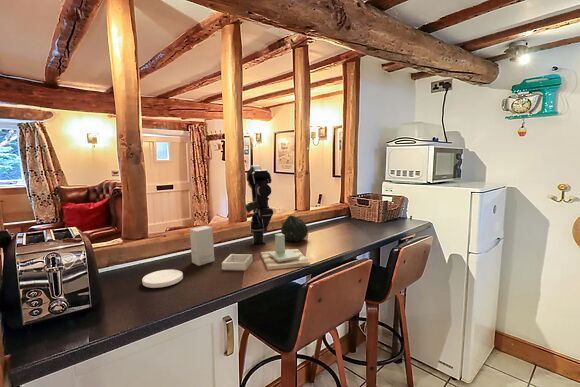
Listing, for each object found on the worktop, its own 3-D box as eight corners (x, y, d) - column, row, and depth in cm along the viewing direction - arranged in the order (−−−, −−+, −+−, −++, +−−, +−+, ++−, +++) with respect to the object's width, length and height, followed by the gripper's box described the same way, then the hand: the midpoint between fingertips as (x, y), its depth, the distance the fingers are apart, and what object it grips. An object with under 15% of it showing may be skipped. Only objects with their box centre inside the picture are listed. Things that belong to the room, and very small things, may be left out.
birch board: (260, 255, 146) (260, 252, 146) (297, 252, 150) (297, 249, 150) (267, 269, 127) (267, 266, 126) (309, 265, 131) (309, 262, 131)
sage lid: (268, 255, 141) (267, 234, 140) (288, 252, 145) (288, 232, 144) (278, 263, 130) (277, 240, 129) (299, 259, 134) (299, 237, 133)
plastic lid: (190, 276, 122) (189, 270, 122) (168, 291, 108) (168, 284, 108) (158, 274, 125) (158, 268, 125) (134, 288, 111) (133, 282, 111)
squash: (312, 227, 178) (294, 208, 177) (311, 234, 163) (292, 214, 163) (294, 243, 181) (277, 224, 180) (292, 252, 166) (273, 231, 165)
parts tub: (230, 260, 139) (230, 254, 139) (252, 260, 138) (252, 254, 138) (222, 270, 128) (221, 262, 127) (245, 270, 126) (245, 263, 126)
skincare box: (207, 258, 143) (206, 225, 142) (215, 261, 139) (213, 227, 137) (191, 262, 138) (188, 228, 136) (198, 266, 133) (196, 230, 131)
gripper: (242, 195, 155) (243, 226, 156) (248, 197, 138) (250, 232, 138) (263, 194, 159) (264, 224, 160) (273, 196, 141) (274, 230, 142)
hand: (263, 228), depth 150 cm, fingers open, 9 cm apart
